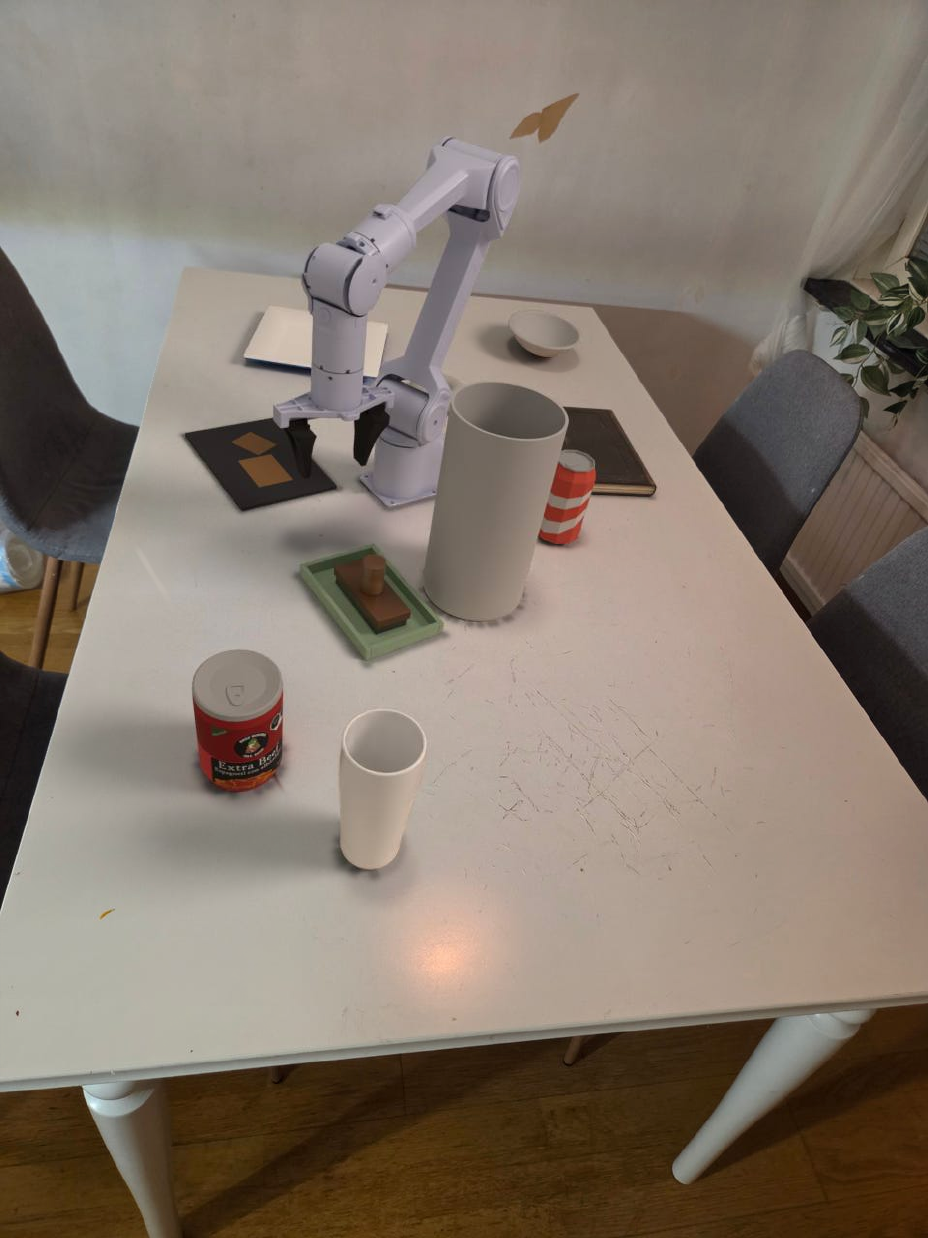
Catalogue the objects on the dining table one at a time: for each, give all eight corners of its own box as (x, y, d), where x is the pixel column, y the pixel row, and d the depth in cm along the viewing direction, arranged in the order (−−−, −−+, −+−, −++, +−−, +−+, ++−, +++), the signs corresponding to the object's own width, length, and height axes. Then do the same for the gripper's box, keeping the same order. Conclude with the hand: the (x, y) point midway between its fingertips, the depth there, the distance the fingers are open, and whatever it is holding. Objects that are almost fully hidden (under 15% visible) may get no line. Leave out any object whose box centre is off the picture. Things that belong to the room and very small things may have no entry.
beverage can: (524, 531, 111) (543, 456, 103) (551, 515, 115) (572, 442, 107) (557, 553, 109) (580, 478, 101) (585, 536, 112) (608, 463, 104)
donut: (400, 408, 132) (459, 421, 131) (402, 388, 129) (462, 402, 129) (415, 383, 139) (470, 395, 139) (417, 364, 137) (473, 376, 136)
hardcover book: (555, 493, 120) (559, 480, 118) (522, 415, 136) (525, 403, 135) (653, 497, 123) (658, 484, 122) (610, 421, 140) (614, 409, 138)
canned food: (212, 804, 72) (204, 726, 65) (190, 739, 77) (180, 659, 70) (294, 779, 75) (295, 702, 68) (268, 718, 80) (267, 640, 73)
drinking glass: (332, 812, 73) (341, 705, 63) (406, 813, 75) (426, 708, 65) (330, 880, 68) (339, 775, 58) (408, 880, 70) (430, 777, 60)
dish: (501, 329, 162) (506, 305, 159) (570, 339, 164) (576, 315, 160) (505, 367, 149) (511, 342, 146) (580, 378, 151) (587, 353, 147)
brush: (333, 581, 96) (335, 539, 92) (365, 572, 99) (368, 530, 94) (376, 637, 91) (380, 594, 86) (409, 626, 93) (415, 584, 89)
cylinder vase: (471, 547, 106) (507, 371, 90) (540, 598, 101) (592, 421, 84) (401, 581, 99) (426, 396, 82) (471, 639, 93) (513, 453, 77)
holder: (372, 555, 102) (373, 543, 101) (441, 635, 93) (444, 623, 92) (299, 576, 97) (299, 564, 96) (365, 662, 88) (366, 650, 87)
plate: (376, 387, 135) (377, 376, 134) (242, 367, 133) (242, 355, 132) (387, 333, 152) (388, 323, 151) (268, 315, 150) (268, 304, 148)
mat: (274, 419, 123) (274, 416, 122) (336, 488, 112) (337, 485, 111) (184, 435, 115) (184, 432, 115) (241, 511, 104) (241, 507, 104)
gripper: (293, 388, 82) (292, 498, 91) (412, 369, 89) (400, 473, 98) (264, 358, 86) (265, 466, 95) (380, 342, 93) (371, 444, 102)
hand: (332, 467), depth 97 cm, fingers open, 7 cm apart
